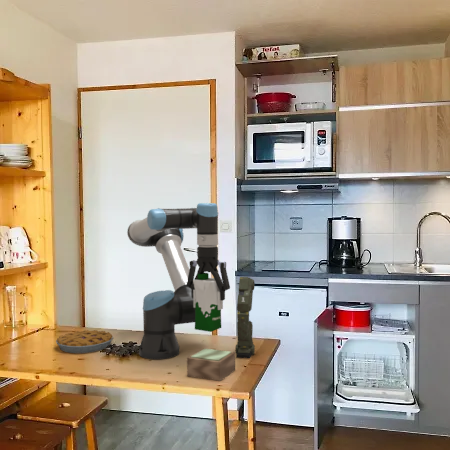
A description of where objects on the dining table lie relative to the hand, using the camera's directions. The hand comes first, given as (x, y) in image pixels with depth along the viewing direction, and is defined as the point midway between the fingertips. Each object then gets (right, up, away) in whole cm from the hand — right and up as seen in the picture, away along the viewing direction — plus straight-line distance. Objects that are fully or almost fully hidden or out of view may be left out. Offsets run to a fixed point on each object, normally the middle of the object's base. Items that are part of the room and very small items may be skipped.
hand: (208, 308), depth 185 cm
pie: (-50, -19, +20) cm, 57 cm away
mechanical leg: (+14, -19, +9) cm, 25 cm away
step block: (+2, -20, -13) cm, 24 cm away
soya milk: (0, -8, 0) cm, 8 cm away
